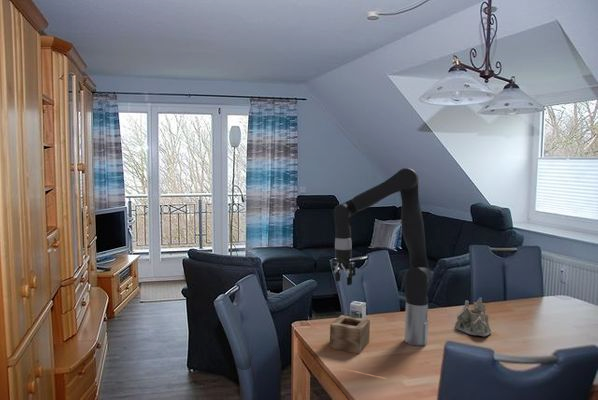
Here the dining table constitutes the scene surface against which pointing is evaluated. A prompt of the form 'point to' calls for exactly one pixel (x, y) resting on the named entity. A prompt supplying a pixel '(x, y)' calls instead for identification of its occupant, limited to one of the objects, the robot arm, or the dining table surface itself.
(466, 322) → the ceramic cottage
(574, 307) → the dining table surface
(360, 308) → the syrup box
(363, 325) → the box
